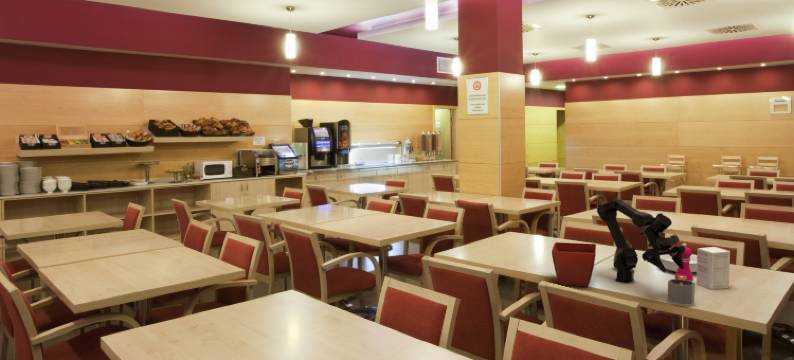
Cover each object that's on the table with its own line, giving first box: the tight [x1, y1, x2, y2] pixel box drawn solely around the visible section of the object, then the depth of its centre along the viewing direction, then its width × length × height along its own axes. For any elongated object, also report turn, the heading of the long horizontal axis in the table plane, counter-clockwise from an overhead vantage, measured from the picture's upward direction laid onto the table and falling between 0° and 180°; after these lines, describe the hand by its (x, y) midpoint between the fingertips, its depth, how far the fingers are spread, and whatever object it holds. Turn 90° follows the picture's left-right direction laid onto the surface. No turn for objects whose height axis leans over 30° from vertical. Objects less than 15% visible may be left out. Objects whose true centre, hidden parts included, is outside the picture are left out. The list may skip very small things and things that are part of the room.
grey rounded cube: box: [667, 278, 696, 307], centre depth 219 cm, size 10×10×8 cm
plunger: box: [677, 275, 687, 285], centre depth 218 cm, size 7×7×8 cm
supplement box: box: [696, 246, 731, 290], centre depth 238 cm, size 10×9×17 cm
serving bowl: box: [660, 253, 697, 274], centre depth 264 cm, size 21×21×7 cm
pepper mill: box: [674, 242, 694, 282], centre depth 237 cm, size 7×7×20 cm
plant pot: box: [551, 241, 597, 287], centre depth 249 cm, size 19×19×17 cm
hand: (674, 270), depth 222 cm, fingers open, 9 cm apart
